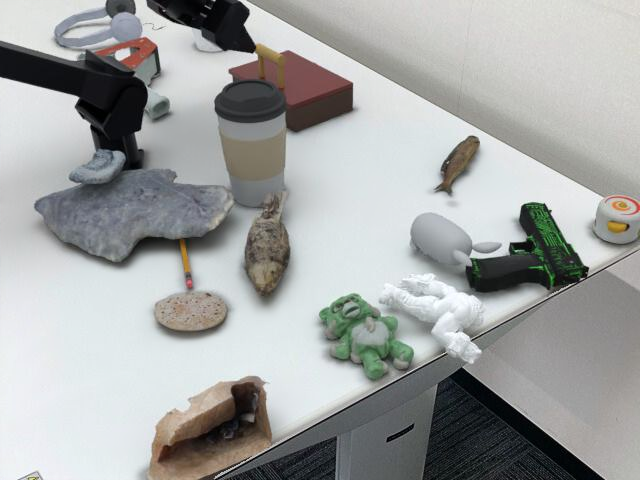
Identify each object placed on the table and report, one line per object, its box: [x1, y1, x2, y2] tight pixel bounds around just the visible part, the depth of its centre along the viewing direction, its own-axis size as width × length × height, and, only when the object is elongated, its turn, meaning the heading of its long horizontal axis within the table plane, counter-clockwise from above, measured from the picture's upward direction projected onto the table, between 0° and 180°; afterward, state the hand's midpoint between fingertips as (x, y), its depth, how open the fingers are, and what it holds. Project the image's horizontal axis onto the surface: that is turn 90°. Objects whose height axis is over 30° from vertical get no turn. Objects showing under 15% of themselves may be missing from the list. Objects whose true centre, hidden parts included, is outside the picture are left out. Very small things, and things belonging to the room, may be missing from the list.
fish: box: [433, 134, 481, 194], centre depth 107 cm, size 17×4×2 cm, turn 160°
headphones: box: [53, 0, 166, 48], centre depth 140 cm, size 17×6×20 cm
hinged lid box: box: [231, 75, 354, 133], centre depth 122 cm, size 12×17×4 cm
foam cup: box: [191, 0, 223, 53], centre depth 135 cm, size 10×9×13 cm
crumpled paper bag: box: [145, 375, 273, 480], centre depth 69 cm, size 6×12×8 cm, turn 129°
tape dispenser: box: [75, 36, 171, 119], centre depth 124 cm, size 18×5×20 cm
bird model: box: [243, 189, 291, 298], centre depth 91 cm, size 21×6×5 cm, turn 3°
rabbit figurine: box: [409, 212, 503, 267], centre depth 90 cm, size 6×5×12 cm
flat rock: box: [33, 167, 235, 263], centre depth 95 cm, size 18×5×25 cm
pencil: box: [179, 238, 193, 288], centre depth 94 cm, size 19×1×1 cm, turn 15°
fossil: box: [68, 149, 126, 184], centre depth 94 cm, size 8×4×5 cm
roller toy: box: [592, 194, 640, 245], centre depth 95 cm, size 4×6×6 cm
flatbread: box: [154, 291, 228, 332], centre depth 84 cm, size 8×8×1 cm
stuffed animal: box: [318, 292, 415, 380], centre depth 80 cm, size 8×12×4 cm
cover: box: [228, 42, 354, 109], centre depth 118 cm, size 12×17×6 cm
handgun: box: [464, 201, 590, 294], centre depth 92 cm, size 16×3×15 cm
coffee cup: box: [213, 79, 287, 208], centre depth 98 cm, size 9×9×15 cm
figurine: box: [378, 272, 486, 366], centre depth 82 cm, size 10×5×12 cm
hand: (235, 40), depth 110 cm, fingers open, 9 cm apart
